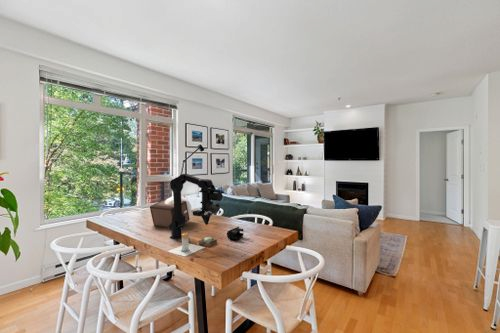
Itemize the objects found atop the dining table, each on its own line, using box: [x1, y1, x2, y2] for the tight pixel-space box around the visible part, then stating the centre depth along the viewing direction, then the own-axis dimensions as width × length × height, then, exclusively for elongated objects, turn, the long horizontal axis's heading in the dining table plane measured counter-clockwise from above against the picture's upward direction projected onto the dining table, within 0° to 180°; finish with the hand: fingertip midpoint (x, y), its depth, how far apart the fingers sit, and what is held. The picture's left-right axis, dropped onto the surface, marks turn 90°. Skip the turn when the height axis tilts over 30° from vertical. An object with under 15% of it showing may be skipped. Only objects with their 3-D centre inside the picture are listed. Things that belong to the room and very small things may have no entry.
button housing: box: [198, 237, 218, 248], centre depth 147 cm, size 8×8×2 cm
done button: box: [203, 236, 213, 242], centre depth 147 cm, size 5×5×3 cm
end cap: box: [226, 226, 244, 242], centre depth 157 cm, size 10×7×7 cm
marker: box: [181, 232, 190, 252], centre depth 135 cm, size 4×4×9 cm
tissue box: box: [149, 194, 192, 229], centre depth 195 cm, size 24×28×24 cm
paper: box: [166, 242, 206, 258], centre depth 137 cm, size 14×16×1 cm
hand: (206, 224), depth 148 cm, fingers closed
